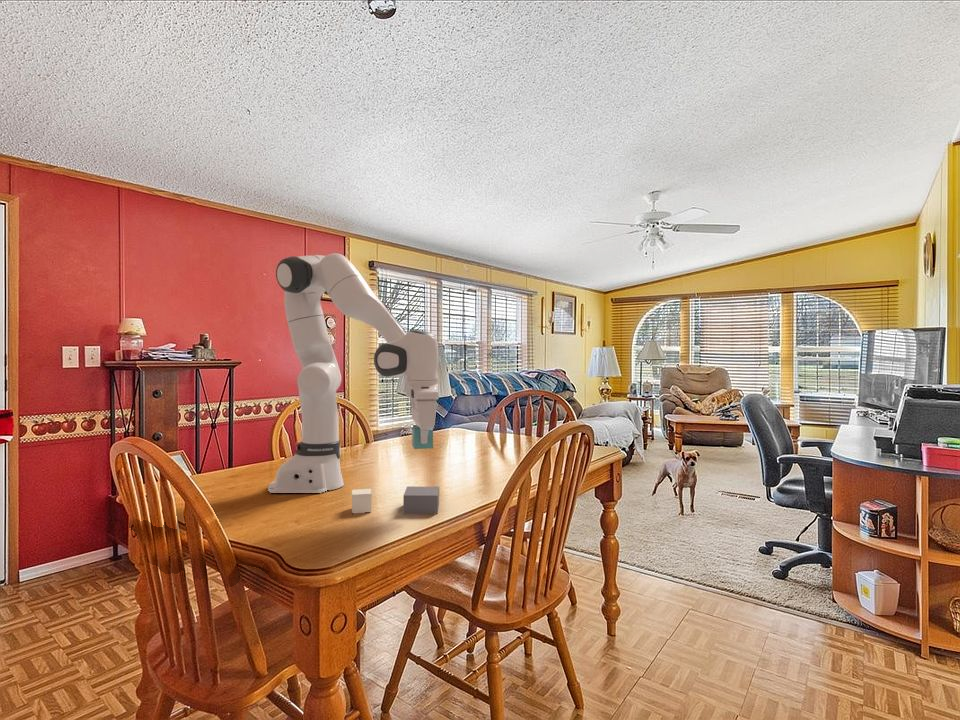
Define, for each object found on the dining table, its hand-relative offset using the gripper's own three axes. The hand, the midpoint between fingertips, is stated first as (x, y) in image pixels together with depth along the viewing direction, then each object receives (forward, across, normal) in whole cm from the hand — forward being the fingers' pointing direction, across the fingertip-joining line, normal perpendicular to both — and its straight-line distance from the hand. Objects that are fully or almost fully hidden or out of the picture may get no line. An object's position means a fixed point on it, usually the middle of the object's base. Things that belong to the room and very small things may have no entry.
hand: (422, 441), depth 144 cm
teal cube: (+2, 0, 0) cm, 2 cm away
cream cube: (+18, -2, -16) cm, 25 cm away
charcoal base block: (+19, 0, 0) cm, 19 cm away
